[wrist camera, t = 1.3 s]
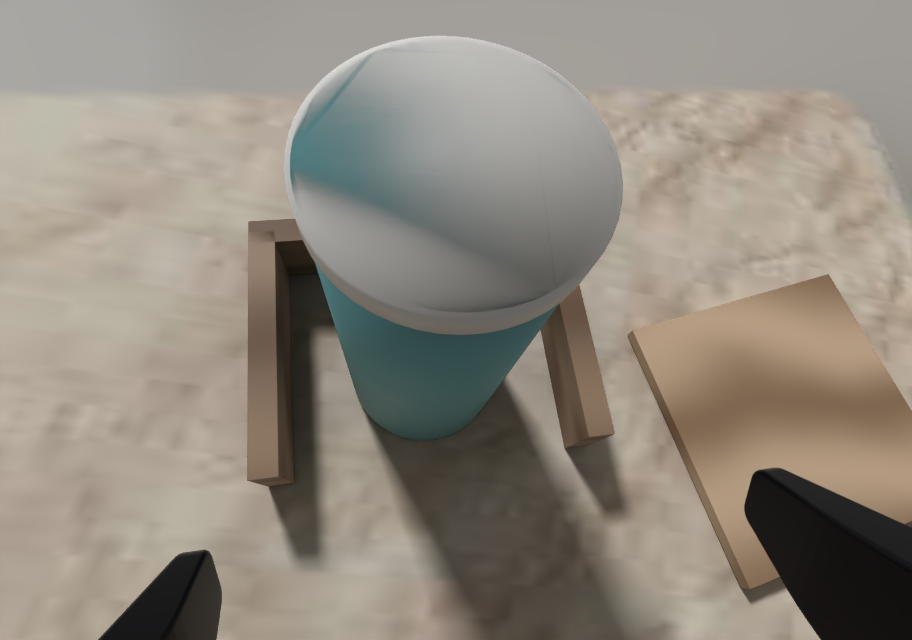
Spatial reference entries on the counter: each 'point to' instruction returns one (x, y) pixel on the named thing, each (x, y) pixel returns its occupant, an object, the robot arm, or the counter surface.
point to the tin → (446, 217)
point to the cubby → (270, 363)
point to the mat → (779, 407)
